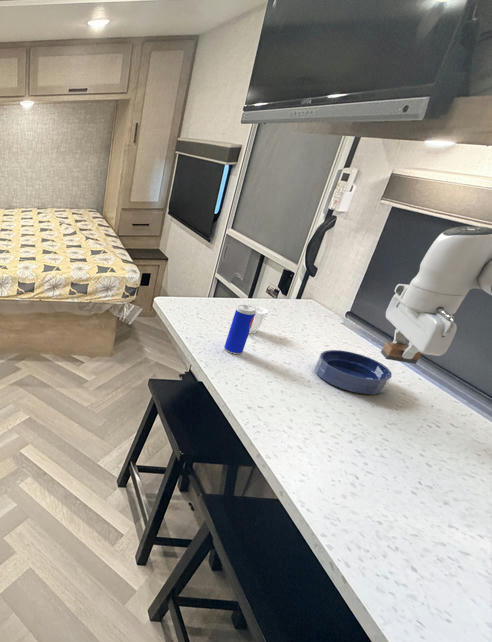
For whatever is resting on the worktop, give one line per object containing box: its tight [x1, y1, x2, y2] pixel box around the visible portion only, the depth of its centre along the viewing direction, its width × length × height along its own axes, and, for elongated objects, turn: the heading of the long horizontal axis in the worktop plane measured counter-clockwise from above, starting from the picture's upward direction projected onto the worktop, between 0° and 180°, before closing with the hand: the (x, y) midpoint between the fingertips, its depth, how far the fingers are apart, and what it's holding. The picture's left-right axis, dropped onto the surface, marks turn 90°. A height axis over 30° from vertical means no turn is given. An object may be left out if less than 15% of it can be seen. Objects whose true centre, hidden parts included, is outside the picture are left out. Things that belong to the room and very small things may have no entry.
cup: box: [248, 304, 269, 334], centre depth 134 cm, size 7×10×8 cm
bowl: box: [314, 349, 393, 395], centre depth 110 cm, size 15×15×5 cm
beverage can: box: [224, 304, 256, 355], centre depth 122 cm, size 5×5×15 cm
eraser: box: [380, 341, 423, 365], centre depth 95 cm, size 6×4×3 cm, turn 67°
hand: (401, 352), depth 95 cm, fingers closed on eraser, 3 cm apart
